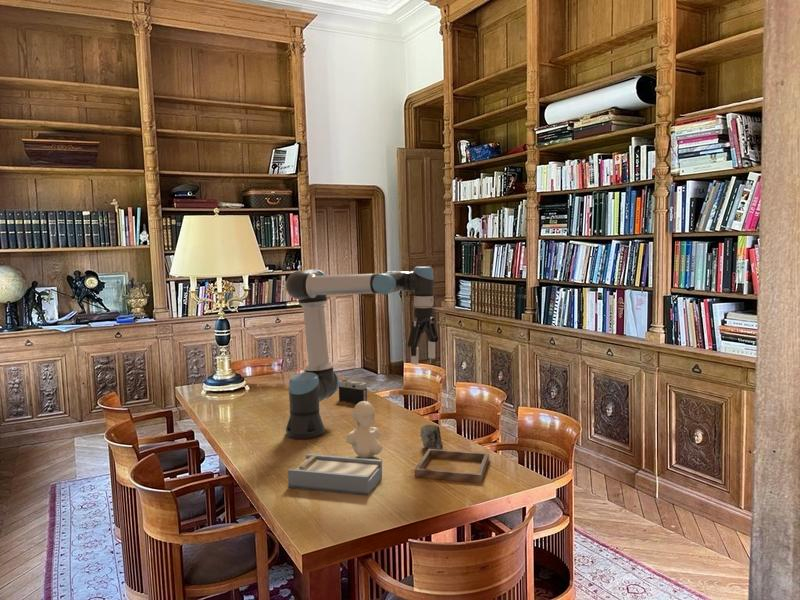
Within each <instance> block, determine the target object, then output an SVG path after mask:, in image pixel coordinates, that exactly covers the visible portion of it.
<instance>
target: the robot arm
mask: <svg viewBox="0 0 800 600" xmlns="http://www.w3.org/2000/svg"><path fill="white" fill-rule="evenodd" d="M434 279H435V277H434V268H433V267H432V266H414V269H413V271H400V270H388V271H386V272H383V273H382V272H381V273H380V272H379V273H358V274H355V273H354V274H353V273H351V274H328V275H327V274H326V273H325V272H324V271H322V270H320V269H315V268H314V269H312V268H311V269H305V270H303V269H302V270H298V271H296V270H295V271H294V272H292V273H290V274H289V275H288V276H287V279H286V281H285V290H286V292H287V294H288V295H289V296H290V297H291V298H292V299H294V300H298V304H299V305H300V306H301V308H302V312H303V320H304V321H303V322H304V331H305V344H306V355H307V366H306V367H305V368H304V371H305V372H302V373H296V374H294V375H292V376H291V377H290V379H289V381H288V397H289V398H288V399H289V400H288V401H289V418H288V420H287V424H286V428H285V436H287V437H288V438H290V439H295V440H307V439H309V440H310V439H315V438H319V437H321V436H322V435H324V434H325V426H324V425H325V424H324V422H323V420H322V417H321V413H320V402H322V401H324V400H325V399H328V398H331V396H333V395H334V394H335V393H336V392H337V390H339V381H340V379H339V376H338V374H337V373H336V372H335V370H334V365H333V364H331V363H330V358H329V347H328V339H327V338H328V337H327V326H326V315H325V304H326V303H327V301H328V298H327V296H332V295H335V296H336V295H338V296H339V295H366V294H367V295H369V294H370V295H374V294H376V295H377V294H378V295H379V294H380V295H389V294H391V293H397V292H399V291H400V292H402V291H403V292H405V291H406V292H408V291H409V292H413V306H414V307H413V317H414V318H416V320H412V322H411V329H410V333H409V337H408V341H407V346H408V347H409V348H410V349H411V350H410V364H411V365H419V347H418V346H419V342H420V340H421V338H422V335H423V334H424V333H425V334H426V336H427V338H428V340H429V341H428V342H427V343H428V345H427V349H428V350H427V352H428V353H427V358H428V359H436V343H438V341H439V335H438V330H437V326H436V322H435V320H436V319H435V317H434V307H433V306H434V301H435V299H434V290H435V289H434V288H435V286H434V284H435V283H434V281H435V280H434Z"/></svg>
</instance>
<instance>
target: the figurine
mask: <svg viewBox="0 0 800 600" xmlns="http://www.w3.org/2000/svg"><path fill="white" fill-rule="evenodd" d="M355 404H356V403H355ZM351 415H352V416H351V417H352V420H353V422H354V424H355V426H356V427H355V428H353V430H352V431H350V432H348V433H347V435H346V437H345V442H346V443H347V444H350V446H351V447H352V449H353V451H354V453H355V454H356V455H357V456H358V458H364V459H370V458H372V457H374V456H376V455H377V456H378V455H380V453H381V452H382V451H383V445H382V444H381V442H380V440H379V438H380V435H381V434H380V430H379V428H378V427H375V426H374V427H373V425H374V424H375V421H376V419H375V417H376V410H375V408H374V406H373V405H372V404H371V402H369V401H368V400H367V401H361V402H359V403H358V404H356V405H355V406H354V407H353V410H352V414H351Z"/></svg>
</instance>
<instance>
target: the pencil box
mask: <svg viewBox="0 0 800 600" xmlns="http://www.w3.org/2000/svg"><path fill="white" fill-rule="evenodd" d="M311 456H316V458H317V460H329V461H341V462H353V463H364V464H376V465H378V468H377V469H376V471H375V472H374V473H373V474H372V475H371V477H370V478H369V476H365V475H354V474H343V473H332V472H321V471H310V470H299V469H296V468H289V469H287V482H288V483H287V484H288V488H291V489H301V490H310V491H311V490H312V491H319V492H320V491H321V492H330V493H341V494H349V495H350V494H352V495H353V494H354V495H362V496H369V495H370V493H371V492H372V491H373V489H374V488H375V487H376V486H377V484H378V483H379V482H380V480H381V479H382V478H383V460H382V459H376V458H375V459H374V458H361V457H350V456H349V457H348V456H337V455H325V454H315V453H313V454H312V453H307V454H306V455H305V460H306V459H309V458H310V457H311Z"/></svg>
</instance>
